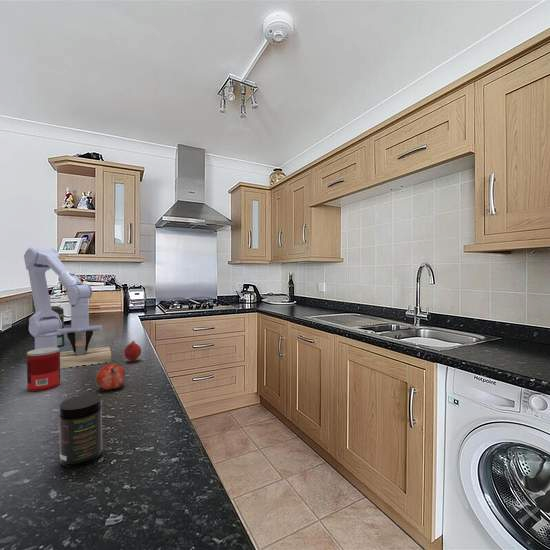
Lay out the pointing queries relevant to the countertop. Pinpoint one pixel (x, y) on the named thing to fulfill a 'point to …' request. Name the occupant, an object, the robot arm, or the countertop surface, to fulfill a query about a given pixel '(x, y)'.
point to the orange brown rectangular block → (80, 347)
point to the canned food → (43, 368)
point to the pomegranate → (110, 376)
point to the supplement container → (80, 430)
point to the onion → (132, 351)
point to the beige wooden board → (85, 357)
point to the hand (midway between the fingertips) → (80, 351)
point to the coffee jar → (61, 315)
